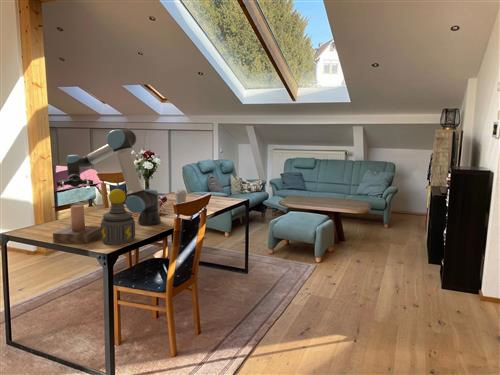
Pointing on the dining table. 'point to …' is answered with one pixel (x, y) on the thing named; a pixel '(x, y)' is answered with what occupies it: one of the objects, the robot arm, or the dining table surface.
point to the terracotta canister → (77, 218)
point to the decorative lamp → (117, 221)
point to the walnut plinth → (77, 235)
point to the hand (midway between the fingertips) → (75, 184)
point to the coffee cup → (180, 196)
